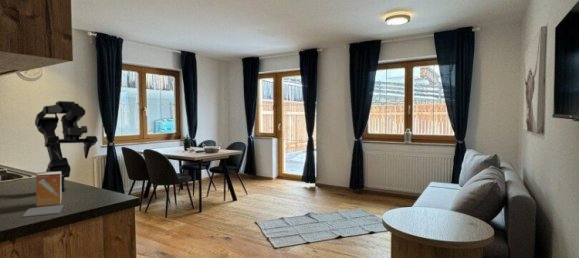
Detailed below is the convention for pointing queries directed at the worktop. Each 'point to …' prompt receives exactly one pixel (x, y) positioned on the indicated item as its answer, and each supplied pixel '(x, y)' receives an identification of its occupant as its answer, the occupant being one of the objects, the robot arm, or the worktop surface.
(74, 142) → the robot arm
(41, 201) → the small box
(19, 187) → the worktop surface
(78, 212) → the worktop surface
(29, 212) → the grey square plate
